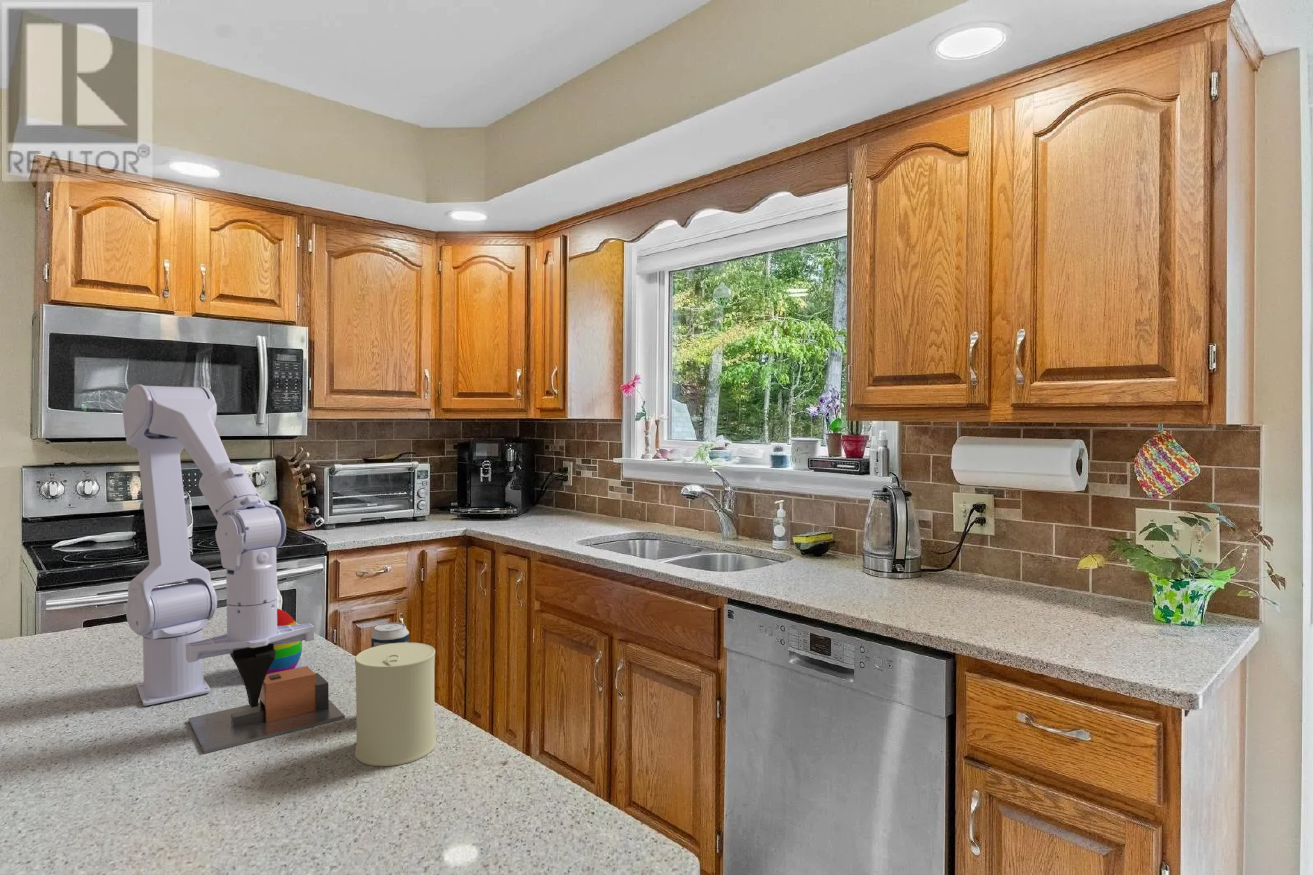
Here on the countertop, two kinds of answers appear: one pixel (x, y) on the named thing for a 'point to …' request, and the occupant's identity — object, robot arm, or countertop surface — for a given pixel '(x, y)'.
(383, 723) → the can
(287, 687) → the orange block
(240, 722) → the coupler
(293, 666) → the decorative egg
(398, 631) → the beer can
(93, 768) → the countertop surface
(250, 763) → the countertop surface
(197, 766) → the countertop surface
